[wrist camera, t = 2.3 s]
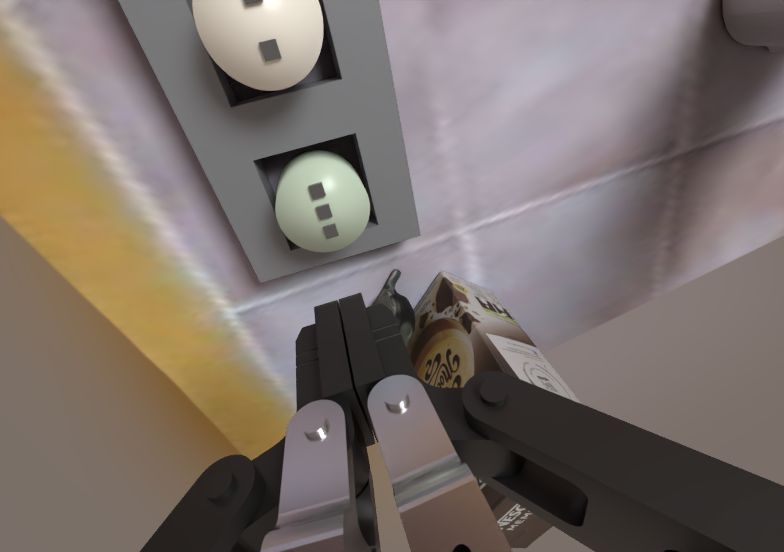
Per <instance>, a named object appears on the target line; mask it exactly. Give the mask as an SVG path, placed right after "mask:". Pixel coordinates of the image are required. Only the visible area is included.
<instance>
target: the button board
mask: <svg viewBox="0 0 784 552" xmlns="http://www.w3.org/2000/svg"><path fill="white" fill-rule="evenodd" d="M118 1H119V3H120V5H121V7H122V9H123V11H124V13H125V15H126V17H127V19H128V21H129V23H130V25H131V27H132V29H133V31H134V33H135V35H136V37H137V39H138V41H139V43H140V45H141V47H142V49H143V51H144V53H145V55H146V57H147V59H148V61H149V63H150V65H151V67H152V69H153V71H154V73H155V75H156V77H157V79H158V81H159V83H160V85H161V87H162V89H163V91H164V93H165V95H166V97H167V98H168V100H169V102H170V104H171V106H172V108H173V110H174V112H175V114H176V116H177V118H178V120H179V122H180V124H181V126H182V128H183V130H184V132H185V134H186V136H187V138H188V140H189V142H190V144H191V146H192V148H193V150H194V152H195V154H196V156H197V158H198V160H199V162H200V164H201V166H202V168H203V170H204V172H205V174H206V176H207V178H208V180H209V182H210V184H211V186H212V188H213V190H214V192H215V194H216V196H217V198H218V200H219V202H220V204H221V206H222V208H223V210H224V212H225V214H226V216H227V218H228V220H229V222H230V224H231V226H232V228H233V230H234V232H235V234H236V236H237V238H238V240H239V241H240V243H241V245H242V247H243V249H244V251H245V253H246V255H247V257H248V259H249V261H250V263H251V265H252V267H253V269H254V271H255V273H256V275H257V277H258V279H259V281H260V283H262V282H266V281H269V280H272V279H276V278H279V277H282V276H286V275H289V274H292V273H296V272H299V271H303V270H306V269H309V268H313V267H316V266H319V265H323V264H326V263H329V262H333V261H336V260H340V259H343V258H346V257H350V256H353V255H356V254H360V253H363V252H366V251H370V250H373V249H377V248H380V247H383V246H387V245H390V244H393V243H397V242H400V241H403V240H407V239H410V238H414V237H417V236H420V230H419V224H418V219H417V213H416V207H415V202H414V196H413V190H412V185H411V179H410V173H409V168H408V162H407V157H406V151H405V145H404V140H403V134H402V128H401V123H400V117H399V111H398V106H397V100H396V95H395V89H394V83H393V78H392V72H391V66H390V61H389V55H388V49H387V44H386V38H385V33H384V27H383V21H382V16H381V10H380V4H379V0H318V1H319V4H320V7H321V12H322V17H323V22H324V25H325V29H326V33H327V37H328V41H329V45H330V49H331V53H332V57H333V61H334V65H335V69H336V73H337V76H336V77H332V78H328V79H324V80H320V81H316V82H312V83H309V84H305V85H301V86H297V87H293V88H289V89H285V90H281V91H277V92H273V93H269V94H265V95H261V96H257V97H254V98H250V99H246V100H242V101H238V102H237V101H236V98H235V96H234V93H233V91H232V88H231V86H230V83H229V81H228V78H227V76H226V73H225V71H223V70H222V69H221V68H220V67H219V65H218V64H217V63H216V62H215V61H214V60H213V58H212V57H211V56H210V54H209V53H208V51H207V50H206V48H205V46H204V44H203V42H202V40H201V38H200V36H199V33H198V30H197V28H196V24H195V20H194V15H193V7H192V0H118ZM350 134H352V136H353V140H354V144H355V148H356V152H357V156H358V160H359V164H360V168H361V172H362V176H363V179H364V183H365V187H366V191H367V194H368V197H369V202H370V207H371V211H370V215H369V220H368V223H367V225H366V227H365V229H364V231H363V232H362V234H361V235H360V236H359V237H358V238H357V239H356V240H355V241H354V242H353V243H351V244H350V245H348V246H347V247H345V248H343V249H340V250H337V251H333V252H314V251H309V250H306V249H304V248H301V247H299V246H298V245H296V244H295V243H293V242H292V241H291V240H290V239H288V237H287V236H286V235H285V234H284V233H283V231H282V230H281V228H280V226H279V224H278V221H277V218H276V211H275V204H276V197H275V194H274V192H273V189H272V187H271V184H270V182H269V179H268V177H267V174H266V172H265V169H264V167H263V165H262V162H261V160H260V159H261V158H265V157H268V156H272V155H276V154H280V153H283V152H287V151H291V150H294V149H298V148H302V147H306V146H309V145H313V144H317V143H321V142H324V141H328V140H332V139H335V138H339V137H343V136H347V135H350Z"/></svg>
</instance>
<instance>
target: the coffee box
mask: <svg viewBox="0 0 784 552" xmlns="http://www.w3.org/2000/svg"><path fill="white" fill-rule="evenodd" d="M414 313H415V330H414V333H413V335H412V337H411V339H410V341H409V344H408V347H407V351H408V354H409V356H410V359H411V361H412V364H413V367H414V369H415V371H416V373H417V375H418V376H419V377H420V378H421V379H422V380H423V381H424V382H426V383H428V384H430V385H432V386H435V387H441V388H458V387H464V385H465V383H466V382H467V381H468V380H469V379H470V378H471V377H472V376H474V375H476V374H478V373H481V372H485V371H499V372H503V373H506V374H509V375H511V376H514V377H516V378H519V379H521V380H524V381H526V382H528V383H531V384H533V385H536V386H538V387H541V388H543V389H546V390H548V391H551V392H553V393H556V394H558V395H561V396H563V397H565V398H568V399H570V400H573V401H575V402H578V403H580V401H579V400H578V399H577V398H576V396H575V395H574V394H573V392H572V391H571V390H570V389H569V387H568V386H567V385H566V384H565V382H564V381H563V380H562V379H561V377H560V376H559V375H558V373H557V372H556V371H555V370H554V369H553V367H552V366H551V365H550V364H549V362H548V361H547V360H546V358H545V357H544V356H543V355H542V353H541V352H540V351H539V350H538V348H537V347H536V346H535V345H534V343H533V342H532V341H531V339H530V338H529V337H528V336H527V334H526V333H525V332H524V331H523V329H522V328H521V327H520V325H519V324H518V323H517V321H516V320H515V319H514V318H513V317H512V316H511V314H510V313H509V312H508V310H507V309H506V308H505V307H504V305H503V304H502V303H501V302H500V300H499V299H498V298H497V296H496V295H495V294H494V293H492V292H490V291H488V290H486V289H483V288H481V287H479V286H477V285H474V284H472V283H470V282H467V281H465V280H463V279H460V278H458V277H456V276H453V275H451V274H449V273H446V272H441V273H439V275H438V276H437V277H436V279H435V280H434V282H433V283H432V285H431V286H430V288H429V289H428V291H427V292H426V293H425V295H424V296H423V298H422V299H421V301H420V302H419V304H418V305H417V306H416V308H415V309H414ZM580 404H581V403H580ZM475 479H476V481H477V483H478V485H479V487H480V489H481V491H482V493H483V495H484V497H485V499H486V501H487V503H488V505H489V507H490V509H491V510H492V512H493V514H494V516H495V518H496V520H497V522H498V524H499V526H500V528H501V530H502V532H503V534H504V536H505V538H506V540H507V542H508V544H509V545H510V547H511V548H527V547H528V546H529V545H530V544H531V543H532V542H534V541H535V540H536V539H537V538H539V537H540V536H541V535H542V534H543V533H545V532H546V531H547V530H548V529H550V528H551V527H552V526H553V525H551V524H550V523H548V522H546V521H545V520H543V519H542V518H540V517H538V516H537V515H535V514H533V513H532V512H530V511H529V510H527V509H525V508H524V507H522V506H520V505H519V504H517V503H516V502H514V501H512V500H511V499H509V498H508V497H506V496H504V495H503V494H501V493H499V492H498V491H496V490H495V489H493V488H491V487H490V486H488V485H486V484H485V483H484V482H482V481H481V480H480V479H479V478H478V477H475Z"/></svg>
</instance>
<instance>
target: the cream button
mask: <svg viewBox="0 0 784 552" xmlns="http://www.w3.org/2000/svg"><path fill="white" fill-rule="evenodd" d="M192 7H193V15H194V20H195V24H196V28H197V30H198V33H199V36H200V38H201V40H202V42H203V44H204V46H205V48H206V50H207V51H208V53H209V54H210V56H211V57H212V58H213V60H214V61H215V62H216V63H217V64H218V65H219V67H220V68H221V69H222V70H223V71H225V72H226V73H227V74H228V75H229V76H231V77H232V78H234V79H235V80H237V81H238V82H240V83H242V84H244V85H246V86H249V87H252V88H255V89H259V90H266V91H276V90H282V89H286V88H289V87H291V86H293V85H295V84H297V83H298V82H300V81H301V80H303V79H304V78H305V77H306V76H307V75H308V74H309V72H310V71H311V70H312V68H313V67H314V65H315V63H316V62H317V59H318V57H319V54H320V51H321V47H322V42H323V17H322V12H321V7H320V4H319V1H318V0H192Z"/></svg>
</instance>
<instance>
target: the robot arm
mask: <svg viewBox="0 0 784 552" xmlns="http://www.w3.org/2000/svg"><path fill="white" fill-rule="evenodd" d="M722 1H723V18H724V21H725V25H726V29H727V30H728V32H729V33H730V35H731V37H732V38H733V39H735V40H736V41H737V42H739V43H740V44H744V45H748V46H767V47H768V49H769V51H770V52H771V53H784V0H722ZM339 304H340V305H339ZM314 312H315V323H316V324H313V325H310V326H306V327H303V328H302V329H301V331H300V333H299V335H298V338H297V340H296V356H297V357H296V366H297V368H296V388H297V413H296V414H295V415H294V416H293V417H292V419H291V420H290V422H289V424H288V427H287V431H286V436H285V437H284V438H283V439H282V440H281V441H280V442H279V443H277V444H276V445H275V446H273V447H272V448H270V449H269V450H267V451H266V452H264V453H263V454H261V455H260V456H258V457H257V458H255V459H254V460H252V461H251V460H250V459H249V458H247V457H246V456H243V455H230V456H227V457H224V458H222V459H220V460H218V461H217V462H215V463H214V464H212V465H211V466H210V467H208V469H206V470H205V471H204V472H203V473H202V475H201V476H200V477H199V478H198V479H197V481H196V482H195V483H194V485H193V486H192V487H191V488H190V490H189V491H188V492H187V493H186V494H185V496H184V497H183V498H182V500H181V501H180V502H179V503H178V505H177V506H176V507H175V508H174V509H173V511H172V512H171V513H170V514H169V516H168V517H167V518H166V520H165V521H164V522H163V523H162V525H161V526H160V527H159V528H158V529H157V531H156V532H155V533H154V534H153V536H152V537H151V538H150V539H149V541H148V542H147V543H146V544H145V546H144V547H143V548H142V550H141V551H140V552H381V551H380V542H379V533H378V524H377V515H376V507H375V498H374V489H373V480H372V475H371V471H370V466H369V465H370V464H369V459H368V454H367V448H366V447H367V446H370V445H373V444H375V441H374V436H373V433H374V435H375V438H376V440H377V442H379V445H380V448H381V451H382V455H383V458H384V461H385V464H386V468H387V471H388V474H389V477H390V480H391V484H392V487H393V491H394V497H395V501H396V505H397V508H398V511H399V514H400V518H401V521H402V524H403V527H404V531H405V533H406V537H407V540H408V544H409V547H410V550H411V552H513V551H512V549H511V547H510V545H509V544H508V542H507V540H506V538H505V536H504V534H503V532H502V530H501V528H500V526H499V524H498V522H497V520H496V518H495V516H494V514H493V512H492V510H491V509H490V507H489V505H488V503H487V501H486V499H485V497H484V495H483V493H482V491H481V489H480V487H479V485H478V483H477V481H476V479H475V477H478V478H479V479H480V480H481V481H482V482H484V483H485V484H486V485H488V486H490V487H491V488H493V489H495V490H496V491H498V492H499V493H501V494H503V495H504V496H506V497H508V498H509V499H511V500H512V501H514V502H516V503H517V504H519V505H520V506H522V507H524V508H525V509H527V510H529V511H530V512H532V513H533V514H535V515H537V516H538V517H540V518H542V519H543V520H545V521H546V522H548V523H550V524H551V525H553V526H555V527H556V528H558V529H559V530H561V531H563V532H564V533H566V534H567V535H569V536H571V537H572V538H574V539H575V540H577V541H579V542H580V543H582V544H584V545H585V546H587V547H588V548H590V549H592V550H593V551H595V552H784V486H782V485H780V484H777V483H775V482H772V481H770V480H768V479H765V478H763V477H760V476H758V475H755V474H752V473H750V472H748V471H745V470H743V469H740V468H738V467H735V466H733V465H731V464H728V463H726V462H723V461H721V460H718V459H716V458H713V457H711V456H708V455H706V454H703V453H701V452H698V451H696V450H693V449H691V448H689V447H686V446H684V445H681V444H679V443H676V442H674V441H671V440H669V439H666V438H664V437H661V436H659V435H657V434H654V433H652V432H649V431H647V430H644V429H642V428H639V427H637V426H634V425H632V424H630V423H627V422H625V421H622V420H619V419H617V418H615V417H612V416H610V415H607V414H605V413H602V412H600V411H597V410H595V409H593V408H590V407H588V406H585V405H582V404H580V403H578V402H575V401H573V400H570V399H568V398H565V397H563V396H561V395H558V394H556V393H553V392H551V391H548V390H546V389H543V388H541V387H538V386H536V385H533V384H531V383H528V382H526V381H524V380H521V379H519V378H516V377H514V376H511V375H509V374H506V373H503V372H499V371H485V372H481V373H478V374H476V375H474V376H472V377H471V378H470V379H469V380H468V381H467V382H466V383H465V385H464V387H458V388H441V387H435V386H432V385H430V384H428V383H426V382H424V381H423V380H422V379H421V378H420V377H419V376H418V375H417V373H416V371H415V369H414V367H413V364H412V361H411V359H410V356H409V354H408V351H407V349H406V346H405V343H404V341H403V338H402V336H401V333H400V330H399V328H398V325H397V323H396V320H395V317H394V315H393V312H392V311H391V310H390V309H389V308H388V307H386V306H385V305H384V304H382V303H380V304H377V305H374V306H370V307H367V308H366V307H365V304H364V301H363V297H362V294H361V293H358V294H355V295H352V296H348V297H345V298H342V299H339V303H338V301H337V300H336V301H332V302H329V303H326V304H323V305H319V306H316V307H314ZM372 430H373V432H372Z"/></svg>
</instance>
